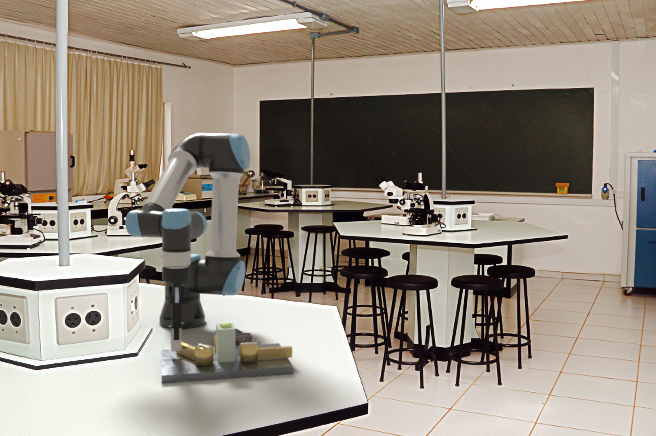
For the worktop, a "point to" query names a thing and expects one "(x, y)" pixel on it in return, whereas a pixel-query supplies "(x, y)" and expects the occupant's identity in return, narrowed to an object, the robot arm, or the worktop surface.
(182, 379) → the grey knob board
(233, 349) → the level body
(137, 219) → the robot arm
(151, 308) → the worktop surface
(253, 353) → the knob
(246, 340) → the rock
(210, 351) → the knob
